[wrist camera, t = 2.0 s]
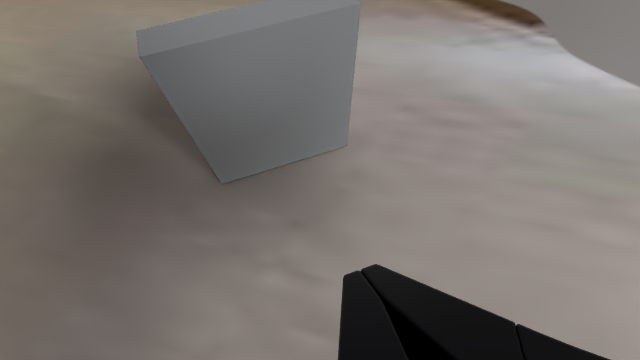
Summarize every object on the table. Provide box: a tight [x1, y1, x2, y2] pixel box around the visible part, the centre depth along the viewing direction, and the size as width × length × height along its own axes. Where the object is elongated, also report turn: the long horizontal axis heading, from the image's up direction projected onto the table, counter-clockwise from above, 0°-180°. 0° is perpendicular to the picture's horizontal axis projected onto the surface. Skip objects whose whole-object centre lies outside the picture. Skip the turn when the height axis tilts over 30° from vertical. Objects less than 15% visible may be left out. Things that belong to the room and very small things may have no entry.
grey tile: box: [136, 0, 361, 184], centre depth 20 cm, size 2×10×12 cm, turn 109°
